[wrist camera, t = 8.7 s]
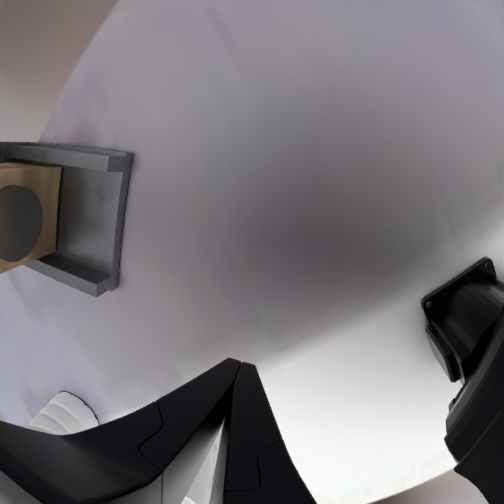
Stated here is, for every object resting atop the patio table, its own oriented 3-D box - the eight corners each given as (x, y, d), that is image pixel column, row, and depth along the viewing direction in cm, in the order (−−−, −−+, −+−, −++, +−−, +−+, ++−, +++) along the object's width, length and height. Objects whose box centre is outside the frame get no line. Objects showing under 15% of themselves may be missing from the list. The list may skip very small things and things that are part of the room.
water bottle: (52, 402, 29) (-60, 517, 6) (65, 382, 28) (-70, 516, 4) (103, 448, 30) (9, 579, 6) (122, 435, 28) (14, 590, 4)
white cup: (152, 382, 25) (97, 458, 15) (239, 402, 24) (207, 497, 14) (160, 436, 27) (120, 506, 17) (234, 455, 26) (209, 535, 16)
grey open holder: (133, 153, 20) (56, 149, 12) (118, 287, 23) (52, 330, 15) (27, 141, 21) (-40, 142, 14) (20, 248, 24) (-40, 270, 17)
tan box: (71, 168, 20) (-11, 174, 12) (65, 255, 22) (-8, 286, 14) (26, 161, 21) (-46, 167, 13) (21, 238, 22) (-45, 260, 15)
